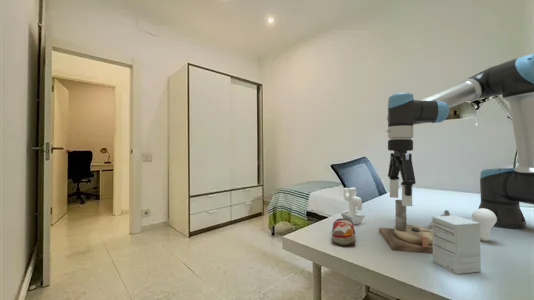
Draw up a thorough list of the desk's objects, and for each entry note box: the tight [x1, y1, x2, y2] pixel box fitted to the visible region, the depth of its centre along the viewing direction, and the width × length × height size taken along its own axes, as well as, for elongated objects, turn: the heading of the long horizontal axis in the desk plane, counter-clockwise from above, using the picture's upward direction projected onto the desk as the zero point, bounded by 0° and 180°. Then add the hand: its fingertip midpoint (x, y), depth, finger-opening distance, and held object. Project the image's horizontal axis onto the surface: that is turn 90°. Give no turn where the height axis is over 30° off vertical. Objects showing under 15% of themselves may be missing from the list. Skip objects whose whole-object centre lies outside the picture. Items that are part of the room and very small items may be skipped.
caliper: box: [424, 209, 451, 229], centre depth 93 cm, size 21×1×6 cm, turn 119°
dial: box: [393, 199, 433, 244], centre depth 79 cm, size 13×13×12 cm
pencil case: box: [331, 218, 357, 246], centre depth 85 cm, size 11×20×5 cm, turn 149°
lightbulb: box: [471, 208, 497, 242], centre depth 80 cm, size 6×6×11 cm
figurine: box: [340, 187, 366, 225], centre depth 101 cm, size 7×9×15 cm
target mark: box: [422, 236, 428, 247], centre depth 72 cm, size 1×1×3 cm
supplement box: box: [431, 214, 482, 275], centre depth 63 cm, size 7×7×13 cm
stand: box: [378, 227, 433, 254], centre depth 79 cm, size 19×17×2 cm
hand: (399, 201), depth 80 cm, fingers open, 13 cm apart
